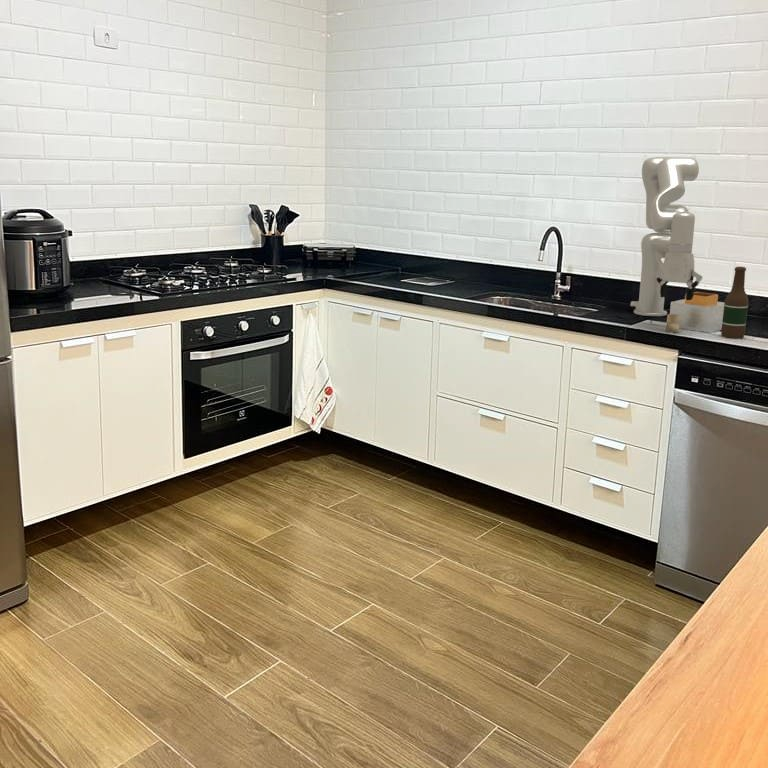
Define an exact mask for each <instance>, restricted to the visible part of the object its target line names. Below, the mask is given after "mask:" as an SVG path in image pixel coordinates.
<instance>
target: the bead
mask: <svg viewBox="0 0 768 768" xmlns="http://www.w3.org/2000/svg"><path fill="white" fill-rule="evenodd" d="M666 316H667V317H666V326H665V327H666V328H665V332H666V331H668V332H667V333H669V332H679V333H680V328H679V327H680V317H681V315H678V314H670V313H667V315H666Z"/></svg>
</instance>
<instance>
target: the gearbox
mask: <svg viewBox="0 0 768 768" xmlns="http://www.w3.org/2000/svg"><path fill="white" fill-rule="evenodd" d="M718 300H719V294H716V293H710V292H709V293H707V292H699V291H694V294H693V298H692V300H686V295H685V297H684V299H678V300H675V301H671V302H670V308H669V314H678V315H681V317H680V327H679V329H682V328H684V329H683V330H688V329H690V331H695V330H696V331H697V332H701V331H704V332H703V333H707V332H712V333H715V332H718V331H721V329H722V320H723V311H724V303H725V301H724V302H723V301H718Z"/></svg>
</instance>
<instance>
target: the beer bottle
mask: <svg viewBox="0 0 768 768" xmlns="http://www.w3.org/2000/svg"><path fill="white" fill-rule="evenodd" d="M746 271H747V268H746V267H745V266H736V267H735V268H734V277H733V280H732V281H733V282H732V286H731V290H730V291H729V292H728V293H727V295H726V297H725V300H724V311H723V320H722V329H721V330H720V334H721V337H724V338H726V339H743V338H744V337H745V333H746V326H747V319H748V310H749V309H748V308H749V298H748V295H747V292H746V290H745V282H746V281H745V280H746V279H745V278H746Z"/></svg>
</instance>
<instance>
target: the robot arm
mask: <svg viewBox="0 0 768 768" xmlns="http://www.w3.org/2000/svg"><path fill="white" fill-rule="evenodd" d="M699 167H700V166H699V163H698V161H697V159H696V158H694V157H689V156H687V157H686V156H683V157H682V156H677V157H676V156H655V157H650V158H649V157H648V158H647V159H645V160H644V161H643V163H642V166H641V177H642V178H641V179H642V182H643V186H644V191H645V199H646V200H645V204H646V205H645V224H646V226H647V228H648V229H649V230H653V232H652V233H647V234H645V235H644V236H643V237H642V239H641V242H640V245H641V246H640V250H641V270H640V271H641V272H640V283H639V284H640V285H639V297H638V300H637V301H636V300H635V301H633V300H632V301H631V302H630V305H629V306H630V307H633V308H634V307H635V309H633V313H634V314H635V315H639V316H643V317H644V316H646V317H664V316H667V315H668V311H667V310H664V307H665V306H664V305H665V297H668V285H667V284H668V283H681V284H685V285H686V286H687V287H688V288H686V293H685V296H686V300H692V298H693V294H694V293H695V289H696V287H697V286H699V284H701V283H700V282H701V281H702V279H703V276H702V275H701V274H699V273H698V272H696V271H695V257H694V256H695V255H694V253H693V244H694V232H695V222H696V217H695V214H694V213H691V212H690V211H689V209H688V208H687V206H685V205H682V204H681V205H680V204H672V203H674V202H676V201H679V200H680V199H681V198H682V197H683V196H684V195H685V192H686V187H685V182H693V181H695V180H696V179H697V178H698V176H699V173H700V170H699V169H700V168H699ZM662 259H664V260H663V261H662ZM694 280H695V281H694Z"/></svg>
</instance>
